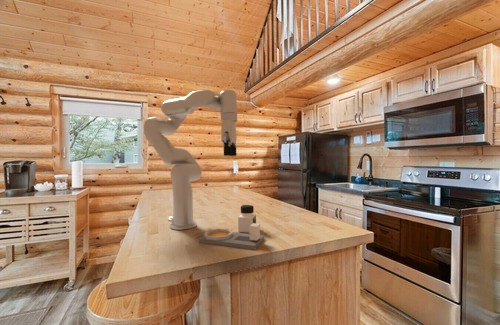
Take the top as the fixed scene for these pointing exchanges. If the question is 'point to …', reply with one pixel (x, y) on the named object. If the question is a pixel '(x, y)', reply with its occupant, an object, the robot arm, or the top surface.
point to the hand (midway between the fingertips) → (230, 155)
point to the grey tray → (230, 239)
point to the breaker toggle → (254, 231)
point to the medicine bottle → (246, 218)
